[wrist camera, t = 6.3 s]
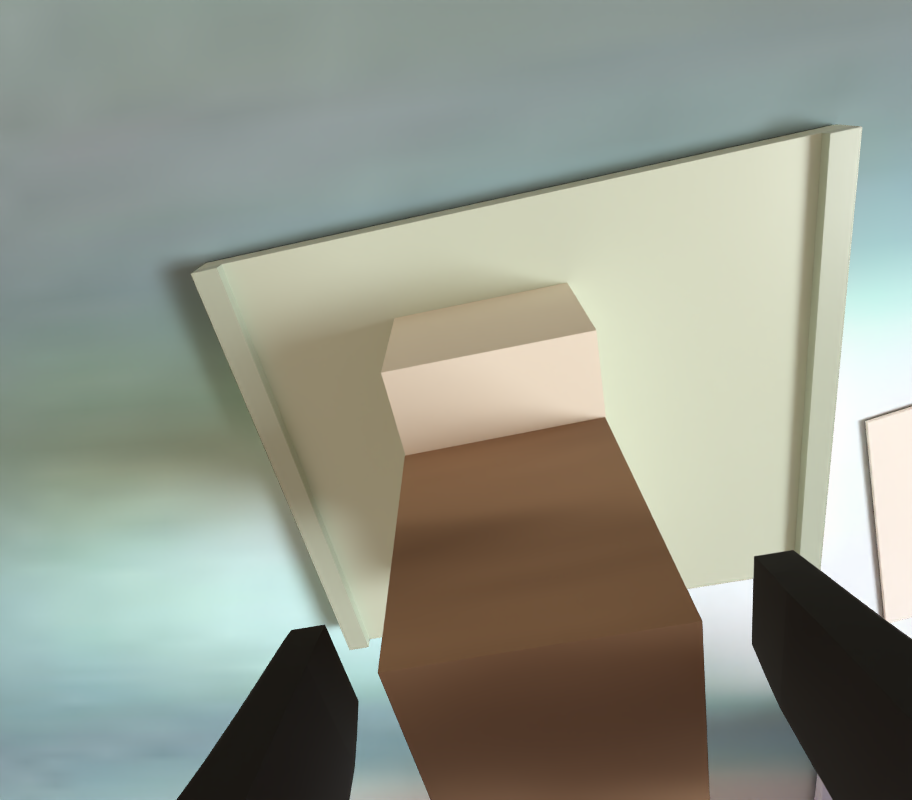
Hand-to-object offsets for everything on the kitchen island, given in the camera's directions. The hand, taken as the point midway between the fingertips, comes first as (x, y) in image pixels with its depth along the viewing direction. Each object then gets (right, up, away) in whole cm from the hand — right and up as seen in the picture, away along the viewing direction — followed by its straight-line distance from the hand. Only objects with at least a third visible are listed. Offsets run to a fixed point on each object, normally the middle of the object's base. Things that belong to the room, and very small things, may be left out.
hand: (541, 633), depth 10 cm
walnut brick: (0, +1, +2) cm, 3 cm away
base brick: (0, +3, +5) cm, 6 cm away
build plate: (+1, +3, +6) cm, 7 cm away
